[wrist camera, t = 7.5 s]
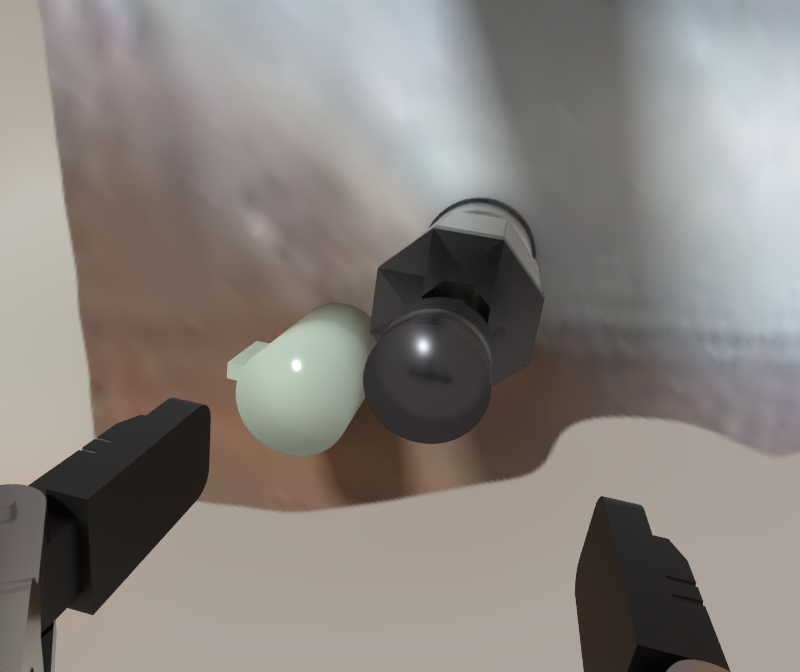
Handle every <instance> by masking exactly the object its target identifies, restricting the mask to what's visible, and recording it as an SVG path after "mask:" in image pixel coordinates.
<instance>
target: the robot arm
mask: <svg viewBox="0 0 800 672" xmlns="http://www.w3.org/2000/svg"><path fill="white" fill-rule="evenodd" d="M210 422H211V415H210V410H209V408H208V406H206V405H203V404H199V403H194V402H190V401H186V400H181V399H177V398H170V399H168V400H167V401H165V402H164V403H162V404H161V405H160V406H158V407H157V408H156V409H154V410H153V411H152V412H150V413H149V414H147V415H146V416H145V415H139V416H136V417H134V418H131V419H128V420H125V421H123V422H120V423H117V424H115V425H114V426H112V427H111V428H110V429H108V430H107V431H105V432H104V433H103V434H101V435H100V436H98V439H97V440H95V439H94V440H93V441H91V442H90V443H88V444H87V445H85V446H84V447H83V449H82V451H80V450H78V451H77V452H75V453H74V454H73V455H71V456H70V457H68V458H67V459H65V460H64V461H63V462H61V463H60V464H58V465H57V466H56V467H54V468H53V469H51V470H50V471H48V472H47V473H45V474H44V475H43V476H41V477H40V478H38V479H37V480H36V481H34V482H33V483H31V484H30V485H28V486H26V485H19V484H7V485H0V672H54V667H55V651H56V633H57V632H56V619H57V617H59V616H60V614H61V613H62V612H63V611H64V610H65V609H66V608H70V609H73V610H77V611H80V612H84V613H88V614H91V615H94V614H95V612H96V611H97V610H98V609H99V608H100V607H101V606H102V604H104V602H105V601H106V600H107V599H108V598H109V597H110V596H111V595H112V594H113V593H114V591H115V590H116V589H117V588H118V587H119V586H120V585H121V584H122V583H123V581H124V580H125V579H126V578H127V577H128V576H129V575H130V574H131V573H132V571H133V570H134V569H135V568H136V567H137V566H138V565H139V564H140V563H141V561H142V560H143V559H144V558H145V557H146V556H147V555H148V554H149V553H150V552H151V550H152V549H153V548H154V547H155V546H156V545H157V544H158V543H159V542H160V540H161V539H162V538H163V537H164V536H165V535H166V533H167V532H169V530H170V529H171V528H172V527H173V526H174V525H175V524H176V523H177V522H178V520H179V519H180V518H181V517H182V516H183V515H184V514H185V513H186V512H187V510H188V509H189V508H190V507H191V506H192V505H193V504H194V503H195V502H196V501H197V499H198V498H199V497H200V495H201V493H202V491H203V489H204V487H205V484H206V481H207V478H208V473H209V453H210ZM695 585H696V582H695V579H694V576H693V574H692V571H691V569H690V566H689V564H688V561H687V560H686V559H685V557H684V556H683V555H682V554H681V553H680V552H679V551H678V549H676V547H675V546H674V545H673V544H672V543H671V542H670V540H669V539H666V538H662V537H657V536H653V535H652V532H651V529H650V526H649V523H648V520H647V517H646V514H645V511H644V508H643V507H642V506H641V505H638V504H633V503H629V502H625V501H621V500H616V499H612V498H607V497H603V496H601V497H600V498H599V499H598V501H597V503H596V506H595V509H594V513H593V516H592V519H591V523H590V526H589V529H588V532H587V536H586V539H585V542H584V546H583V549H582V552H581V556H580V559H579V563H578V567H577V573H576V582H575V597H576V605H577V615H578V624H579V633H580V641H581V650H582V659H583V668H584V672H730V669H729V667H728V664H727V661H726V659H725V656H724V654H723V651H722V649H721V646H720V643H719V641H718V638H717V636H716V633H715V631H714V628H713V625H712V623H711V620H710V618H709V615H708V613H707V610H706V607H705V606H703V600H702V597H701V595H700V592H699V589H698V587H696V586H695Z"/></svg>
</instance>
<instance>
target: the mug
mask: <svg viewBox="0 0 800 672" xmlns="http://www.w3.org/2000/svg"><path fill="white" fill-rule="evenodd" d="M370 324H371V317H370V316H368V315H367V314H366V313H365V312H363V311H362V310H360V309H358V308H356V307H353V306H351V305H347V304H341V303H331V304H326V305H322V306H319V307H317V308H315V309H314V310H312V311H311V312H309V313H308V314H307V315H306V316H304V317H303V318H302V319H301V320H299V321H298V322H297V323H295V324H294V325H293V326H292V327H290V328H289V329H288V330H287V331H285V332H284V333H283V334H282V335H280V336H279V337H278V338H276V339H275V340H274V341H273V342H271V343H270V344H268V343H264V342H259V341H256V342H255V343H253V344H252V345H251V346H249V347H248V348H247V349H245V350H244V351H243V352H241V353H240V354H239V355H237V356H236V357H234V358H233V359H232V360H230V361H229V362H228V367H227V378H228V379H233V380H237V386H236V401H237V407H238V410H239V413H240V416H241V418H242V420H243V422H244V424H245V425H246V427H247V428H248V429H249V431H250V432H251V433H252V434H253V435H254V436H255V437H256V438H257V439H258V440H259V441H260V442H261V443H263V444H264V445H266V446H267V447H269V448H271V449H272V450H275V451H277V452H279V453H282V454H286V455H290V456H301V457H302V456H311V455H316V454H318V453H321V452H323V451H325V450H327V449H329V448H330V447H332V446H333V445H334V444H335V443H336V442H337V441H338V440H339V439H340V437H341V436H342V434H343V433H344V431H345V430H346V428H347V426H348V425H349V423H350V422H351V420H352V418H353V417H354V415H355V413H356V412H357V410H358V409H359V407H360V405H361V404H362V402H363V401H364V399H365V392H364V388H363V372H364V367H365V363H366V361H367V358H368V356H369V354H370V352H371V350H372V349H373V348H374V346H375V345H376V344H377V341H376V340H375V339H374V337H373V336H372V335H371V333H370Z"/></svg>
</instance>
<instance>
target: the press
mask: <svg viewBox="0 0 800 672" xmlns="http://www.w3.org/2000/svg"><path fill="white" fill-rule="evenodd" d="M456 282H458V283H463V284H468V285H474V286H475V288H476V290H475V293H474V296H473V299H472V302H471V305H470V307H471V308H473V309H474V310H475V311H477V312H478V313H479V314H480V315H481V316H482V318H483V319H484V320H485V321H486V323H487V324H488V326H489V328H490V330H491V332H492V335H493V338H494V342H495V362H494V369H493V377H492V385H491V386H493V385H495V384H496V383H498V382H500V381H501V380H503V379H505V378H507V377H508V376H510V375H512V374H513V373H515V372H517V371H518V370H520V369H522V368H523V367H525V366H527V365H529V363H530V359H531V354H532V350H533V346H534V341H535V337H536V333H537V328H538V324H539V320H540V315H541V311H542V307H543V302H544V293H543V292H542V290H541V282H540V275H539V267H538V264H537V262H536V261H535V244H534V239H533V236H532V233H531V231H530V228H529V226H528V225H527V223H526V221H525V220H524V219H523V218H522V216H521V215H520V214H519V213H518V212H517V211H516V210H514V209H513V208H511V207H510V206H508V205H507V204H505V203H503V202H500V201H498V200H494V199H490V198H470V199H465V200H462V201H459V202H457V203H455V204H453V205H451V206H449V207H448V208H446V209H445V210H444V211H443V212H442V213H440V214H439V215H438V216H437V217H436V218H435V220H434V221H433V222H432V224H431V225H430V227H429V228H428V229H427V230H426V231H424V232H423V233H422V234H420V235H419V236H417V237H416V238H415V239H413V240H412V241H411V242H409V243H408V244H407V245H406V246H405V247H404V248H402V249H401V250H400V251H399V252H398V253H397V254H395V255H394V256H393V257H391V258H390V259H389V260H387V261H386V262H384V263H383V264H382V265H381V266H379V267H378V271H377V279H376V286H375V294H374V302H373V309H372V317H371V324H370V333H371V335H372V336H373V337H374V339H375V340H376V341H377V342H378V341H379V340H380V338H381V337H382V335H383V334H384V333H385V331H386V330H387V329H388V327H389V326H390V325H391V323H392V322H393V320H394V319H395V318H396V316H397V315H398V314H399V313H400V312H401V311H402V310H403V309H405V308H406V307H407V306H409V305H410V304H412V303H414V302H416V301H419V300H422V299H425V298H431V297H445V298H448V297H449V295H450V293H451V291H452V289H453V287H454V285H455V283H456Z"/></svg>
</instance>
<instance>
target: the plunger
mask: <svg viewBox="0 0 800 672" xmlns="http://www.w3.org/2000/svg"><path fill="white" fill-rule="evenodd" d="M475 290H476V288H475V286H474V285H468V284H463V283H458V282H456V283H455V285H454V287H453V289H452V291H451V293H450V295H449V297H448V298H445V297H431V298H425V299H422V300H419V301H416V302H414V303H412V304H410V305H409V306H407V307H406V308H405V309H403V310H402V311H401V312H400V313H399V314H398V315H397V316H396V318H395V319H394V320H393V322H392V323H391V325H390V326H389V327H388V329H387V330H386V331H385V333H384V334H383V335H382V337H381V338H380V340H379V341H378V342H377V344H376V345H375V346H374V348H373V349H372V350H371V352H370V354H369V356H368V358H367V361H366V363H365V367H364V372H363V388H364V392H365V397H366V399H367V402H368V404H369V406H370V408H371V410H372V412H373V413H374V415H375V416H376V417H377V419H378V420H379V421H380V422H381V423H382V424H383V425H384V426H385V427H386V428H388V429H389V430H390V431H392V432H393V433H395V434H397V435H398V436H400V437H402V438H405V439H407V440H410V441H414V442H418V443H425V444H436V443H444V442H448V441H451V440H454V439H457V438H459V437H461V436H463V435H464V434H466V433H467V432H469V431H470V430H471V429H472V428H474V427H475V426H476V424H477V423H478V422H479V421H480V420H481V418H482V417H483V415H484V413H485V411H486V409H487V407H488V403H489V400H490V393H491V385H492V377H493V369H494V362H495V342H494V338H493V335H492V332H491V330H490V328H489V326H488V324H487V323H486V321H485V320H484V319H483V318H482V316H481V315H480V314H479V313H478V312H477V311H475V310H474V309H473V308H471V307H470V305H471V302H472V299H473V296H474V293H475Z"/></svg>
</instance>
